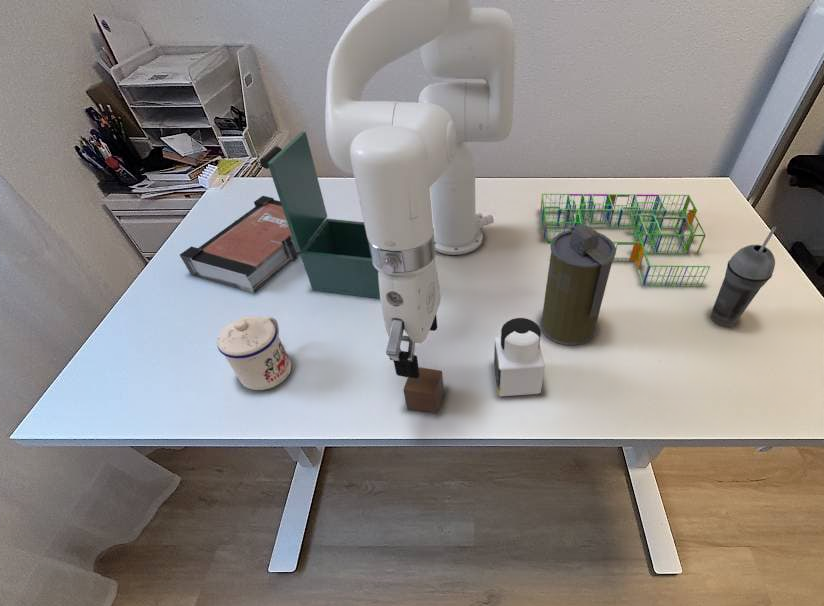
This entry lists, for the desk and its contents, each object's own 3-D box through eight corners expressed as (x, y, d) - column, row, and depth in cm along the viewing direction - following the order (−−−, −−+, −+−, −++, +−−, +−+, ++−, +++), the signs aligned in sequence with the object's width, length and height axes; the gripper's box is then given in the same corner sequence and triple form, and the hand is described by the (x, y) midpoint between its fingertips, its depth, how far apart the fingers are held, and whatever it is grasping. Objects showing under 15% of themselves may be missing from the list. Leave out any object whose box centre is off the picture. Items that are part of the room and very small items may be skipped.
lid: (305, 131, 82) (279, 129, 83) (271, 163, 74) (243, 160, 74) (327, 216, 95) (305, 213, 95) (300, 251, 87) (276, 248, 87)
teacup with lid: (280, 395, 76) (253, 345, 67) (229, 389, 77) (196, 339, 68) (307, 344, 84) (287, 294, 75) (261, 339, 84) (235, 289, 76)
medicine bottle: (493, 365, 80) (495, 313, 71) (534, 363, 80) (540, 310, 71) (498, 397, 75) (500, 346, 66) (541, 394, 76) (549, 343, 67)
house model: (681, 211, 113) (688, 193, 109) (718, 286, 94) (727, 266, 90) (539, 210, 114) (541, 191, 110) (547, 284, 95) (550, 264, 91)
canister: (529, 319, 88) (539, 225, 72) (572, 301, 91) (590, 208, 76) (563, 355, 81) (582, 260, 66) (608, 334, 85) (636, 239, 70)
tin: (404, 262, 100) (398, 225, 93) (385, 299, 92) (378, 262, 85) (336, 254, 102) (326, 218, 95) (312, 290, 94) (299, 253, 87)
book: (257, 293, 93) (247, 273, 89) (191, 274, 97) (179, 254, 94) (329, 228, 109) (324, 209, 105) (270, 214, 113) (262, 195, 109)
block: (415, 386, 77) (412, 366, 73) (444, 390, 76) (442, 370, 73) (407, 409, 74) (402, 389, 70) (436, 413, 73) (434, 394, 69)
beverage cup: (742, 310, 89) (796, 216, 74) (743, 335, 84) (801, 240, 69) (703, 303, 90) (748, 208, 75) (702, 326, 86) (750, 231, 71)
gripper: (412, 297, 47) (427, 400, 60) (450, 212, 58) (456, 315, 71) (343, 288, 48) (373, 392, 61) (394, 207, 59) (410, 309, 72)
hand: (418, 350), depth 66 cm, fingers open, 9 cm apart
